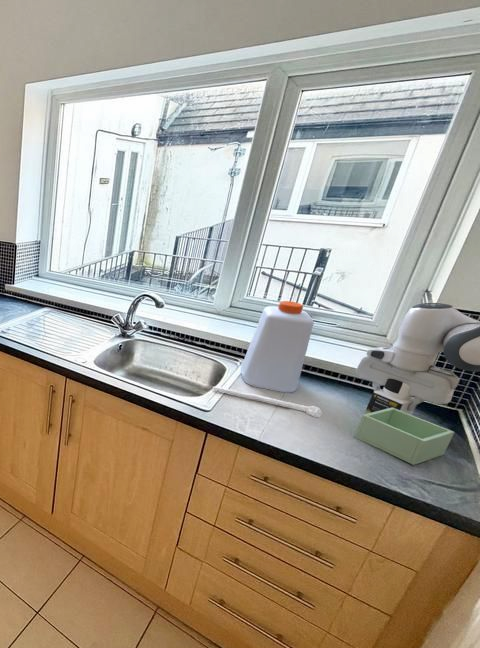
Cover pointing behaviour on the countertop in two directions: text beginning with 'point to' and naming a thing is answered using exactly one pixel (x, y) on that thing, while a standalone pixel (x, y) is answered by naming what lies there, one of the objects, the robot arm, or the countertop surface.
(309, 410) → the white knobbed stick
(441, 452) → the bin
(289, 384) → the plastic bottle
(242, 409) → the countertop surface
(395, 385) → the medicine bottle
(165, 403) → the countertop surface
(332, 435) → the countertop surface
